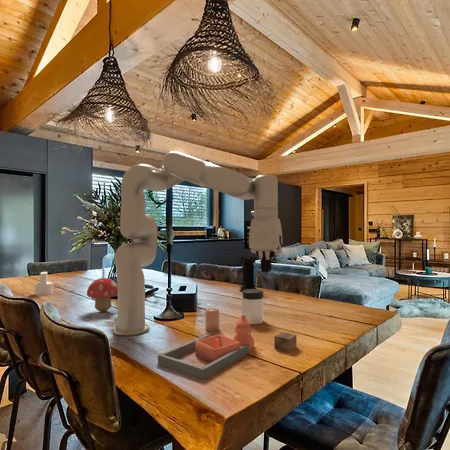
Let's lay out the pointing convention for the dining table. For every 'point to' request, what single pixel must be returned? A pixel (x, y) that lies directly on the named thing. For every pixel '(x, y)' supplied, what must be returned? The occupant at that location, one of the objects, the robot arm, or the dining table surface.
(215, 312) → the beige rounded cylinder
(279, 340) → the metal block
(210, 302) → the dining table surface
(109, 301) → the decorative mushroom
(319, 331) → the dining table surface
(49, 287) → the white stepped block
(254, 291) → the jar
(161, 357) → the corral
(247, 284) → the chess piece
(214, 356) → the pottery
